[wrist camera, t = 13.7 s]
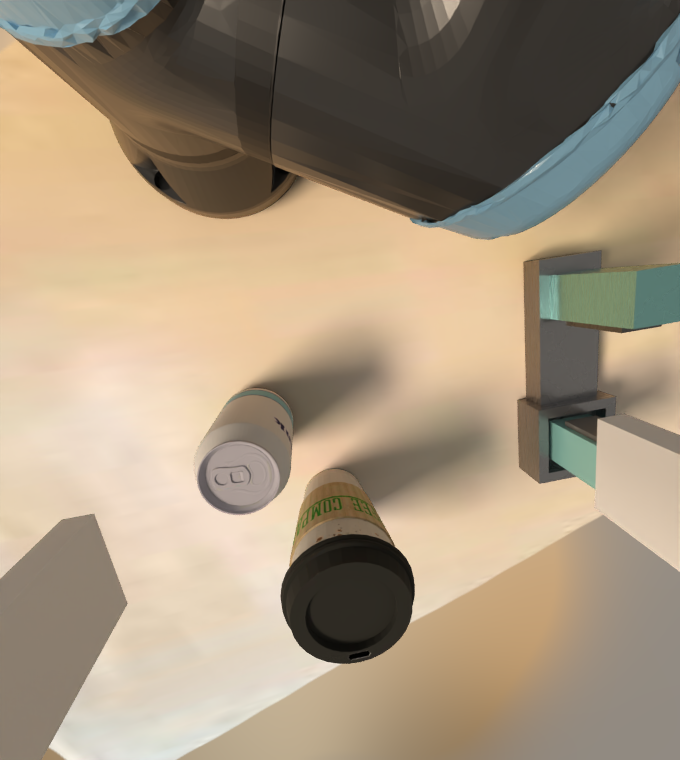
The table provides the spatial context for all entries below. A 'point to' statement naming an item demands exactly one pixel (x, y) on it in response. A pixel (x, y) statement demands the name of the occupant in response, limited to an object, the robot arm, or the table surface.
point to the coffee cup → (345, 575)
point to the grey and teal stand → (580, 340)
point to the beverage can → (246, 453)
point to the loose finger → (575, 445)
